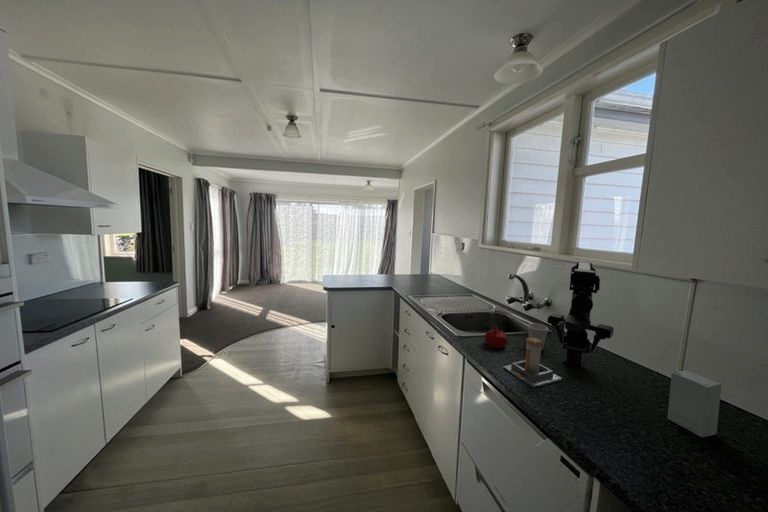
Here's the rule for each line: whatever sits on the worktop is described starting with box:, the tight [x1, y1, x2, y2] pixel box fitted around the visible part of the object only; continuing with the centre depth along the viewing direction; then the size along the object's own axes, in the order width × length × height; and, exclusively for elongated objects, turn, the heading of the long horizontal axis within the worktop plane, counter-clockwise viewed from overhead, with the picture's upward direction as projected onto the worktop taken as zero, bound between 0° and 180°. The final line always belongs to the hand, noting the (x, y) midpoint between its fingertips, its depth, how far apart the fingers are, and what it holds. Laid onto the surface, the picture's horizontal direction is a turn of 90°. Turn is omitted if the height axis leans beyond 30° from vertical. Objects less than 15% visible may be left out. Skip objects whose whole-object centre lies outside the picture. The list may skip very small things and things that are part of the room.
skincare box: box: [667, 370, 722, 438], centre depth 81 cm, size 8×6×15 cm
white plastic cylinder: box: [524, 337, 543, 374], centre depth 107 cm, size 6×5×12 cm
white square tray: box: [502, 359, 563, 388], centre depth 108 cm, size 14×14×3 cm
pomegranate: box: [484, 326, 509, 349], centre depth 131 cm, size 10×10×9 cm
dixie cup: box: [527, 322, 549, 351], centre depth 130 cm, size 8×8×10 cm
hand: (576, 347), depth 101 cm, fingers open, 9 cm apart
